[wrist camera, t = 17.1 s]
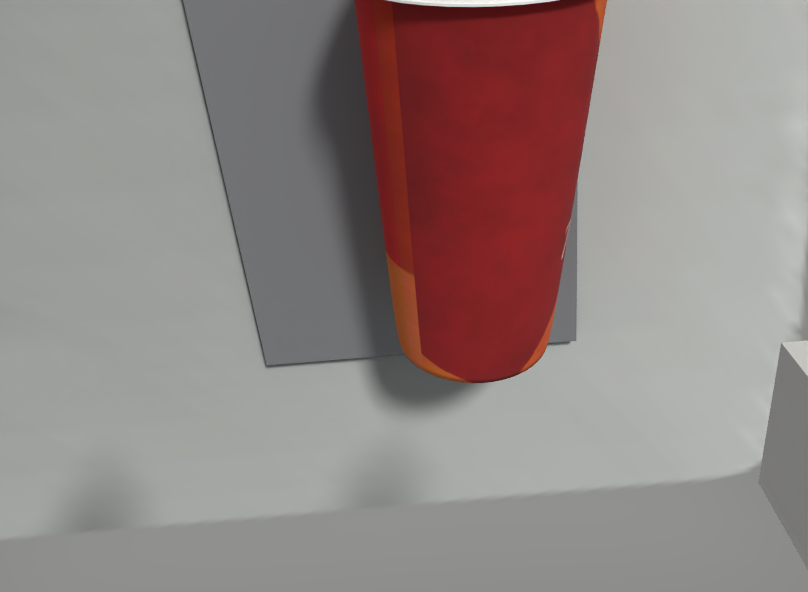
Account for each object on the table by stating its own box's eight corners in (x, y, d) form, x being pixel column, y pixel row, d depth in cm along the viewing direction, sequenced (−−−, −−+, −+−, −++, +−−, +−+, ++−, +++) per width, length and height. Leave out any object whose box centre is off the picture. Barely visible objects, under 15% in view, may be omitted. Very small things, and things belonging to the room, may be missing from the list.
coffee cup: (618, 325, 30) (683, -94, 22) (492, 440, 26) (512, -41, 17) (456, 255, 35) (456, -111, 27) (323, 340, 30) (272, -75, 22)
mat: (268, 359, 35) (266, 365, 35) (140, -207, 25) (135, -209, 24) (574, 334, 34) (576, 340, 34) (578, -263, 24) (580, -265, 23)
